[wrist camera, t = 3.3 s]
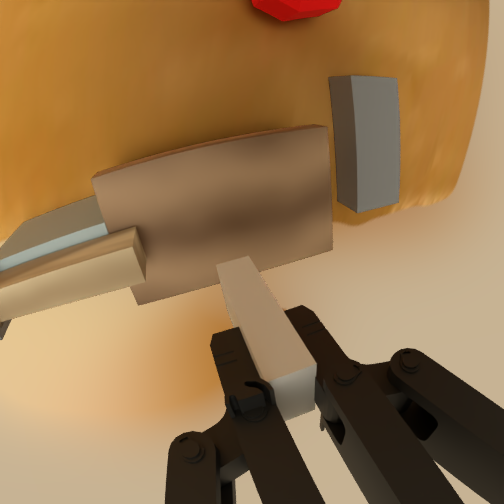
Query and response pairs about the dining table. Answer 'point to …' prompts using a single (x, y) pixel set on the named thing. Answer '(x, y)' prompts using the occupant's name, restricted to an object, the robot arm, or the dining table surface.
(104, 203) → the lid
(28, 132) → the dining table surface
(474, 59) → the dining table surface
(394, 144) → the block
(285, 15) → the ball
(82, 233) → the grey block with peg
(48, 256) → the bar
